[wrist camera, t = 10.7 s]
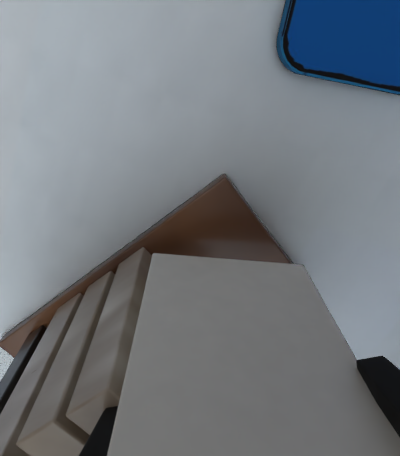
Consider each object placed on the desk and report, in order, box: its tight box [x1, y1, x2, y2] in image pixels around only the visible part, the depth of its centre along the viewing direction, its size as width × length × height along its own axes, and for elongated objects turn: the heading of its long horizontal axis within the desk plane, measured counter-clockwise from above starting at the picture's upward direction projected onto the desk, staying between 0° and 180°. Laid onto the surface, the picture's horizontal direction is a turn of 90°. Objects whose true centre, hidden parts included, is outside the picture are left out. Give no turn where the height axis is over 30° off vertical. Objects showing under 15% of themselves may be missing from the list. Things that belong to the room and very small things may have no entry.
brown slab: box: [0, 174, 293, 456], centre depth 14 cm, size 13×6×8 cm, turn 127°
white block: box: [107, 253, 400, 456], centre depth 10 cm, size 1×5×8 cm, turn 84°
